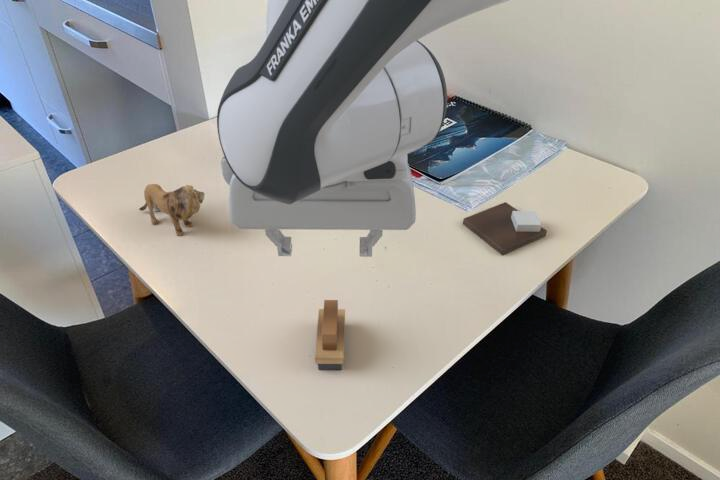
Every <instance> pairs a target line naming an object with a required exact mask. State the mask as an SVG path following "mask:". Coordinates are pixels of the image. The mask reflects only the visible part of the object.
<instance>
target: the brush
mask: <svg viewBox="0 0 720 480" xmlns="http://www.w3.org/2000/svg"><path fill="white" fill-rule="evenodd" d="M345 334H346V309H345V308H339V300H338V299H324V300H323V308H319V309H318V317H317V329H316V339H315V352H314V363H315V365H317V369H318V370H319V371H342V369H343V367H342V365H344V362H345V337H346V336H345Z"/></svg>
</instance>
